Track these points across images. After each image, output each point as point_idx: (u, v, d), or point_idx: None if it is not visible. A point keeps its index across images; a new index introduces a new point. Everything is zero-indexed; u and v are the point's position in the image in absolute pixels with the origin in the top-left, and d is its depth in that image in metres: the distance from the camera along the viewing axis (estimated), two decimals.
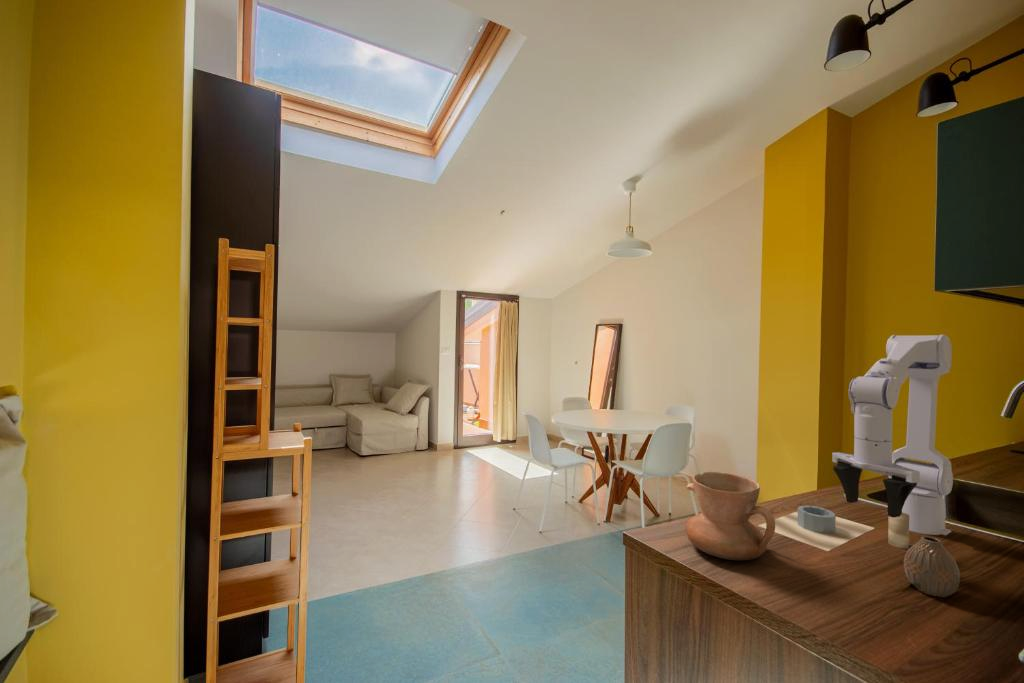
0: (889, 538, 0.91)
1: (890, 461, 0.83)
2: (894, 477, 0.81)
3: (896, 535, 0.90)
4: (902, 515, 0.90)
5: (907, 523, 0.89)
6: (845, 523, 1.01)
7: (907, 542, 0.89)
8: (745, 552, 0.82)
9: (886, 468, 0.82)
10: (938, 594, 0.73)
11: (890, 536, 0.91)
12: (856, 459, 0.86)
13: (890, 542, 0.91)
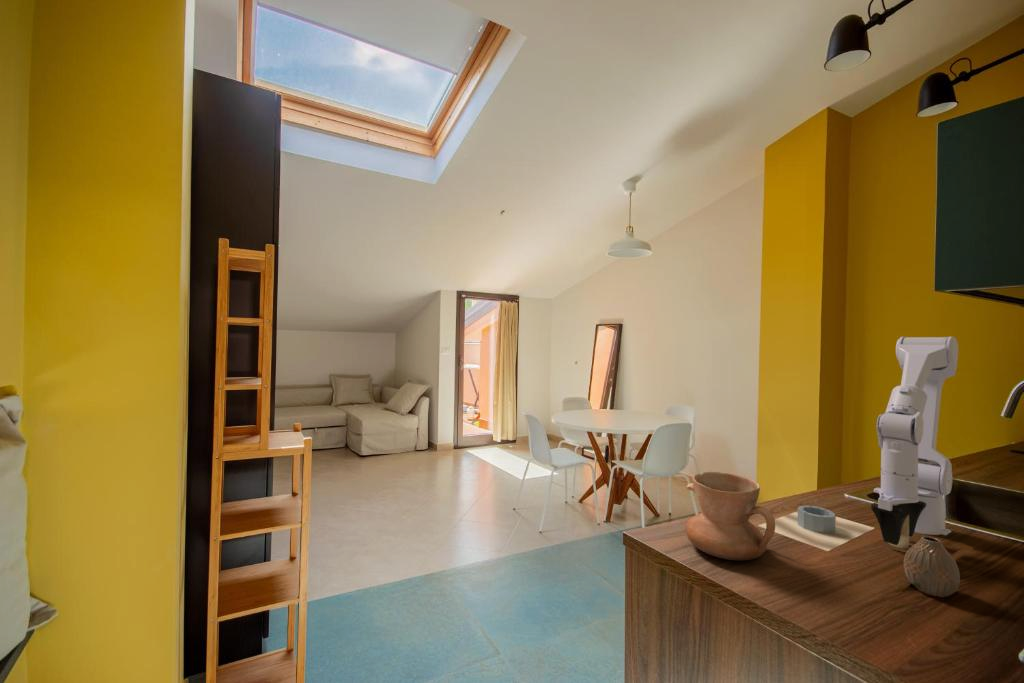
0: None
1: (897, 493, 0.89)
2: None
3: None
4: None
5: (907, 523, 0.89)
6: (845, 523, 1.01)
7: (907, 542, 0.89)
8: (745, 552, 0.82)
9: (880, 495, 0.90)
10: (938, 594, 0.73)
11: None
12: None
13: None
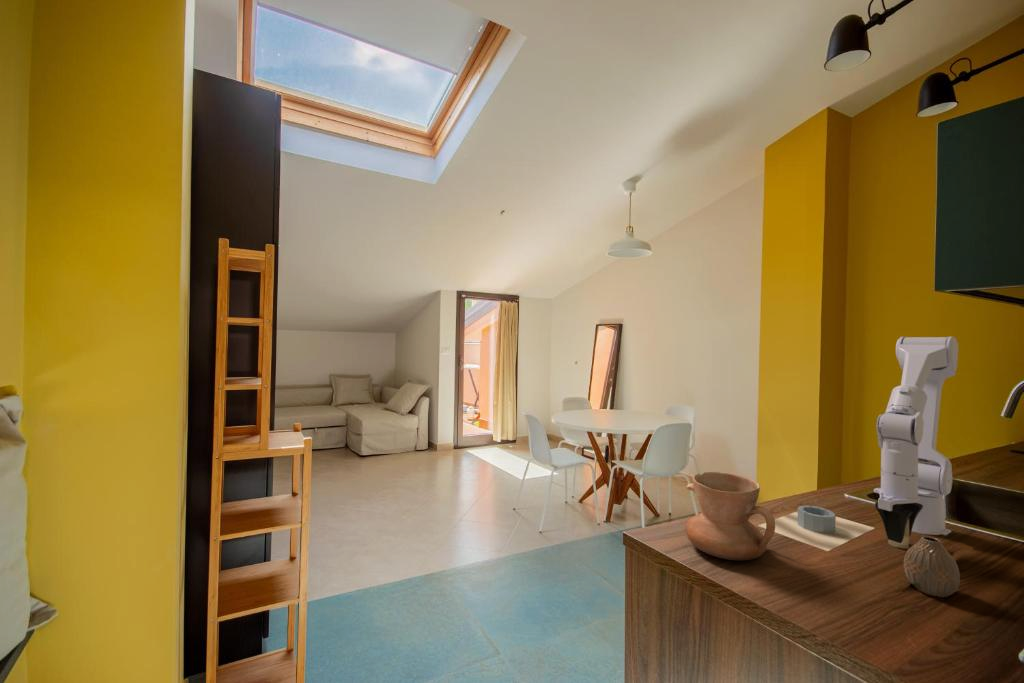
0: None
1: (897, 494, 0.89)
2: None
3: None
4: None
5: (907, 523, 0.89)
6: (845, 523, 1.01)
7: (907, 542, 0.89)
8: (745, 552, 0.82)
9: (880, 495, 0.90)
10: (938, 594, 0.73)
11: None
12: None
13: (890, 542, 0.91)
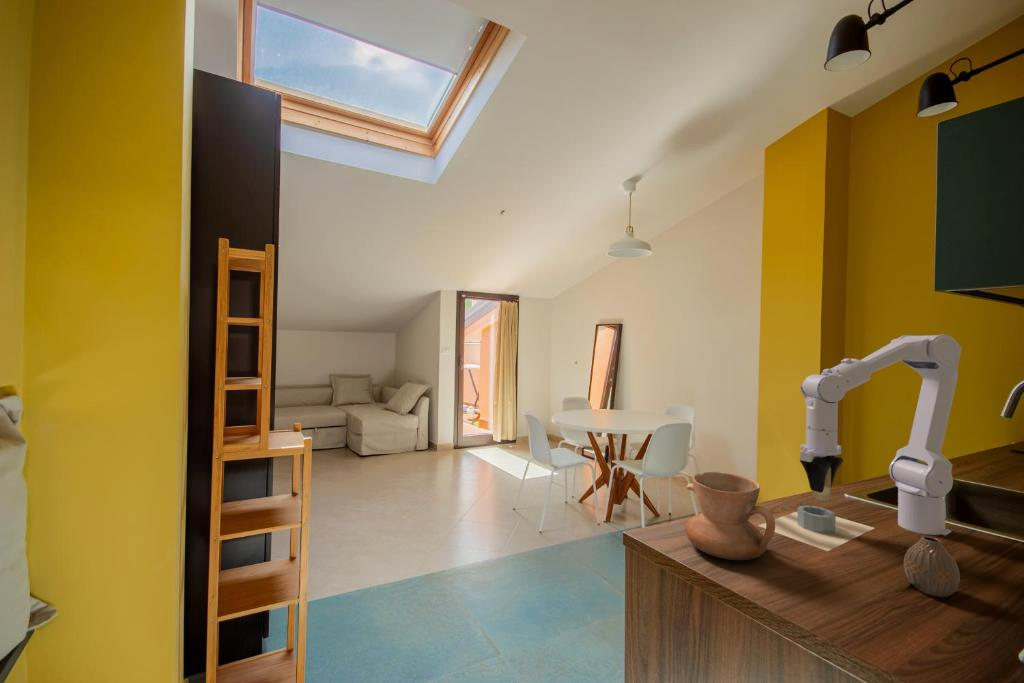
0: None
1: (818, 447, 0.96)
2: None
3: None
4: None
5: (829, 475, 0.97)
6: (845, 523, 1.01)
7: (828, 492, 0.97)
8: (745, 552, 0.82)
9: None
10: (938, 594, 0.73)
11: None
12: None
13: (814, 493, 0.98)
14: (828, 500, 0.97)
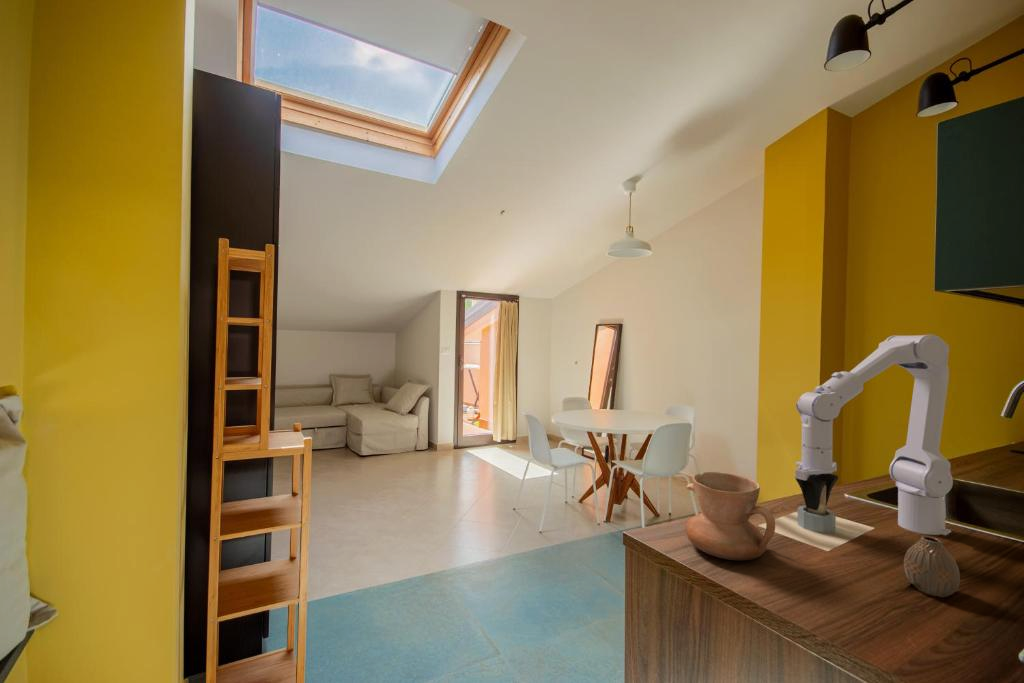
0: None
1: (813, 465, 0.97)
2: None
3: None
4: None
5: (824, 493, 0.97)
6: (845, 523, 1.01)
7: (824, 510, 0.97)
8: (745, 552, 0.82)
9: (799, 467, 0.99)
10: (938, 594, 0.73)
11: None
12: None
13: (809, 510, 0.99)
14: None
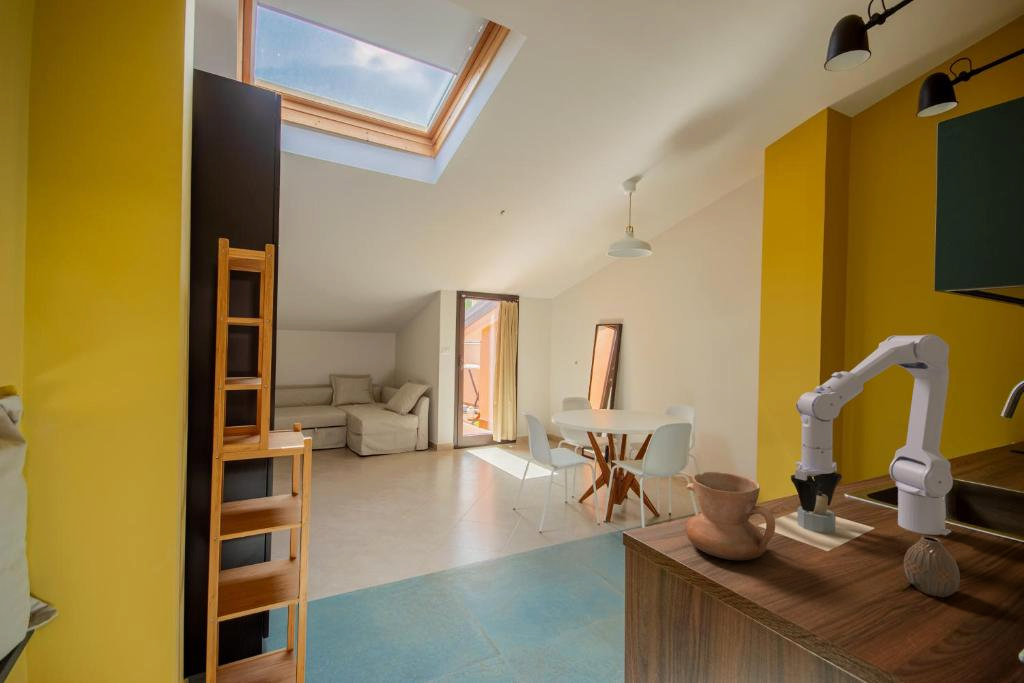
0: None
1: (813, 465, 0.97)
2: None
3: None
4: (822, 496, 0.98)
5: (825, 504, 0.97)
6: (845, 523, 1.01)
7: None
8: (745, 552, 0.82)
9: (799, 467, 0.99)
10: (938, 594, 0.73)
11: None
12: None
13: None
14: None
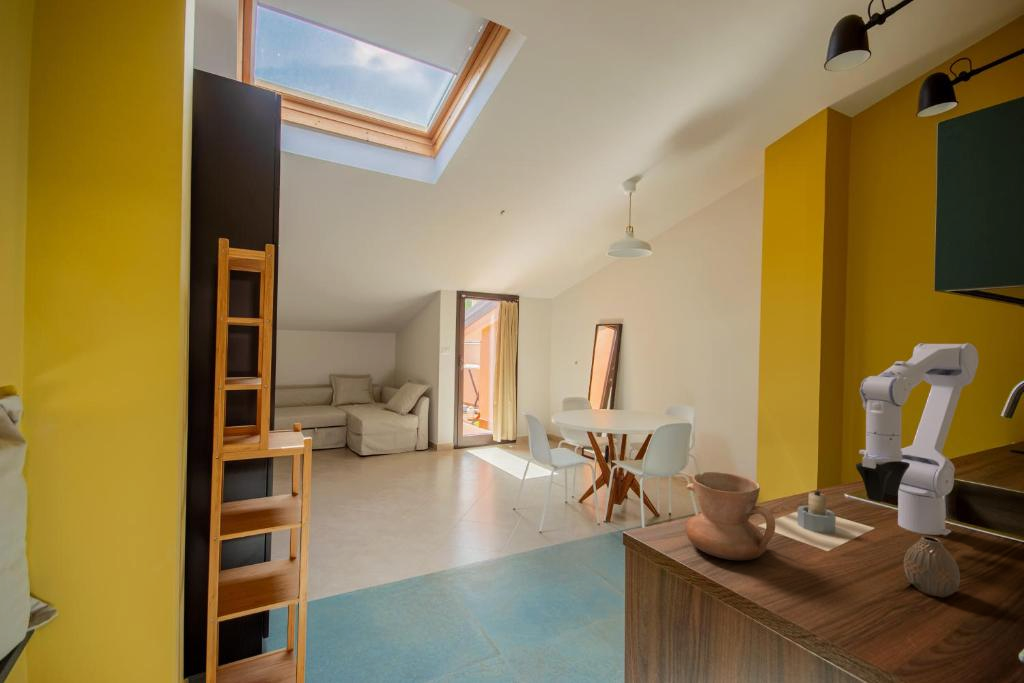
0: None
1: (881, 453, 0.92)
2: None
3: None
4: (820, 496, 0.98)
5: (824, 503, 0.97)
6: (845, 523, 1.01)
7: None
8: (745, 552, 0.82)
9: None
10: (938, 594, 0.73)
11: None
12: None
13: None
14: None
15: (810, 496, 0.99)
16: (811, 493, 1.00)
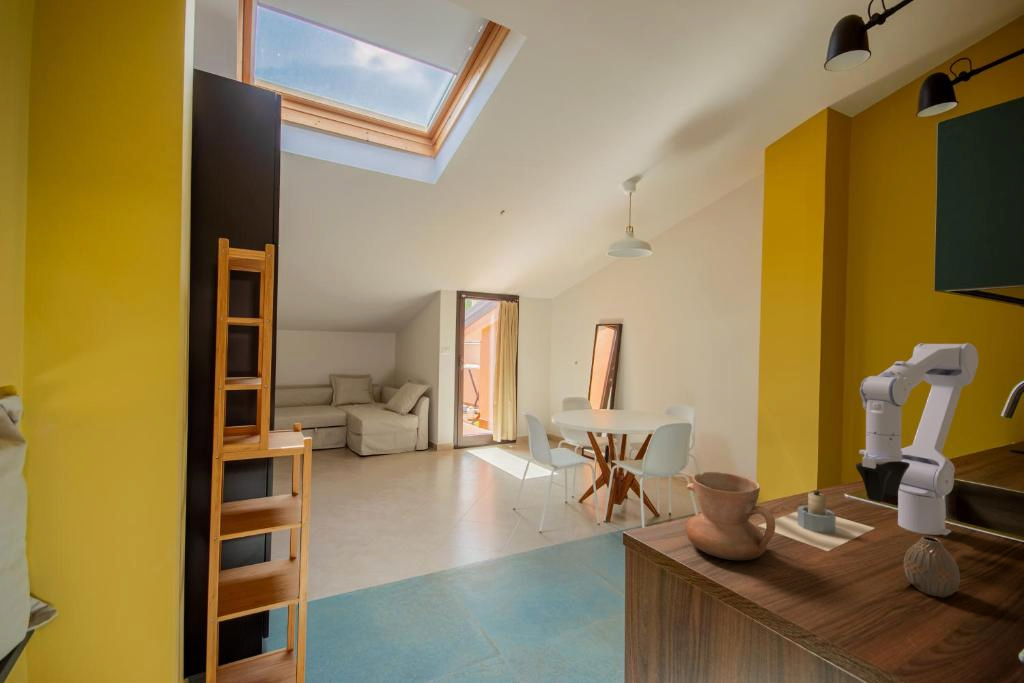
0: None
1: (881, 453, 0.92)
2: None
3: None
4: (819, 495, 0.98)
5: (823, 503, 0.97)
6: (845, 523, 1.01)
7: None
8: (745, 552, 0.82)
9: None
10: (938, 594, 0.73)
11: None
12: None
13: None
14: None
15: (809, 496, 0.99)
16: (810, 493, 1.00)
